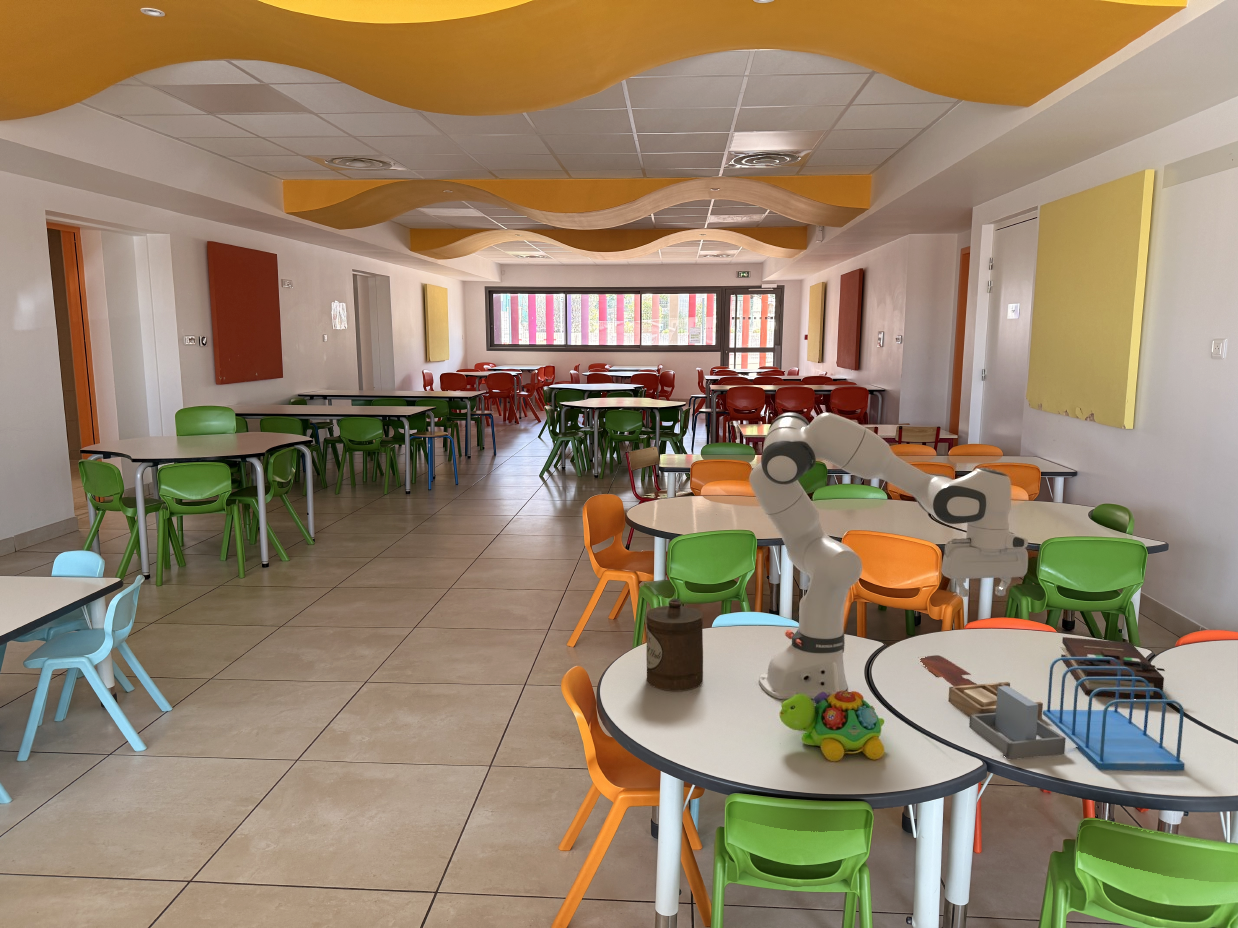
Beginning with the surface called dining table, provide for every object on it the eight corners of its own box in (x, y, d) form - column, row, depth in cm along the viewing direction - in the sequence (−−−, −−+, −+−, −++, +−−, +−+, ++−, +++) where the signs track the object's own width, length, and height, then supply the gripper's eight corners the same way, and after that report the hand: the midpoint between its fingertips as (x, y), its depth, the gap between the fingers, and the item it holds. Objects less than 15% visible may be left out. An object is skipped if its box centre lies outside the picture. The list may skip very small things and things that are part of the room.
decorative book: (1133, 636, 228) (1173, 678, 199) (1130, 663, 229) (1170, 708, 200) (1056, 630, 233) (1084, 670, 204) (1054, 656, 234) (1082, 699, 205)
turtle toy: (770, 728, 190) (771, 679, 188) (869, 725, 191) (871, 677, 190) (789, 765, 173) (791, 712, 171) (898, 761, 174) (900, 709, 173)
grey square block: (1024, 749, 178) (1027, 705, 176) (994, 728, 188) (997, 686, 186) (1035, 748, 178) (1038, 704, 177) (1005, 727, 188) (1007, 685, 187)
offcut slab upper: (983, 710, 192) (984, 702, 192) (963, 698, 199) (963, 690, 198) (1001, 707, 193) (1001, 699, 193) (980, 695, 200) (980, 687, 200)
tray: (1008, 759, 175) (1009, 743, 174) (969, 729, 188) (969, 714, 188) (1064, 753, 177) (1065, 737, 177) (1021, 724, 191) (1022, 709, 190)
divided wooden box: (979, 726, 190) (980, 708, 189) (948, 703, 202) (949, 686, 201) (1041, 720, 193) (1042, 703, 192) (1007, 698, 205) (1008, 681, 204)
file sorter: (1041, 717, 195) (1046, 654, 193) (1116, 717, 195) (1122, 655, 192) (1098, 770, 170) (1104, 700, 168) (1185, 772, 170) (1192, 701, 168)
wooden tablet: (998, 696, 208) (998, 689, 208) (960, 698, 207) (961, 692, 207) (943, 656, 234) (943, 651, 234) (910, 658, 233) (910, 653, 233)
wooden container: (646, 668, 225) (646, 590, 222) (701, 669, 224) (701, 591, 221) (646, 691, 210) (646, 608, 207) (704, 692, 210) (705, 608, 207)
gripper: (953, 541, 187) (949, 600, 189) (1034, 540, 191) (1029, 598, 193) (938, 535, 193) (934, 592, 195) (1016, 534, 197) (1011, 590, 199)
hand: (981, 595), depth 194 cm, fingers open, 8 cm apart
